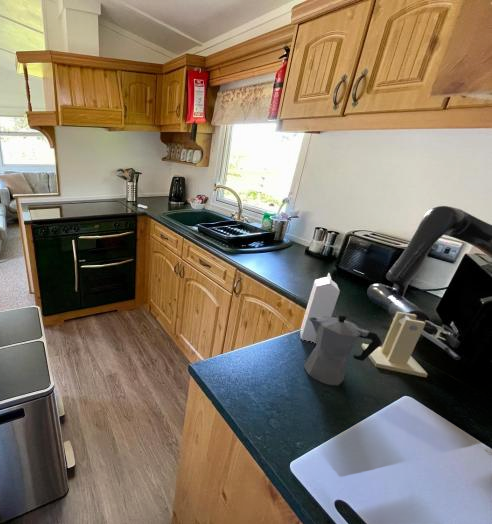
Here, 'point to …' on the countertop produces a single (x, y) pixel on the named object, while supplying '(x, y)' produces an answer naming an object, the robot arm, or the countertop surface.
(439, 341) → the lever
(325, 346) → the coffeepot
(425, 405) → the countertop surface
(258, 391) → the countertop surface
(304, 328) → the milk
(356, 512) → the countertop surface
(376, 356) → the bracket
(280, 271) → the countertop surface
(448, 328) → the robot arm
